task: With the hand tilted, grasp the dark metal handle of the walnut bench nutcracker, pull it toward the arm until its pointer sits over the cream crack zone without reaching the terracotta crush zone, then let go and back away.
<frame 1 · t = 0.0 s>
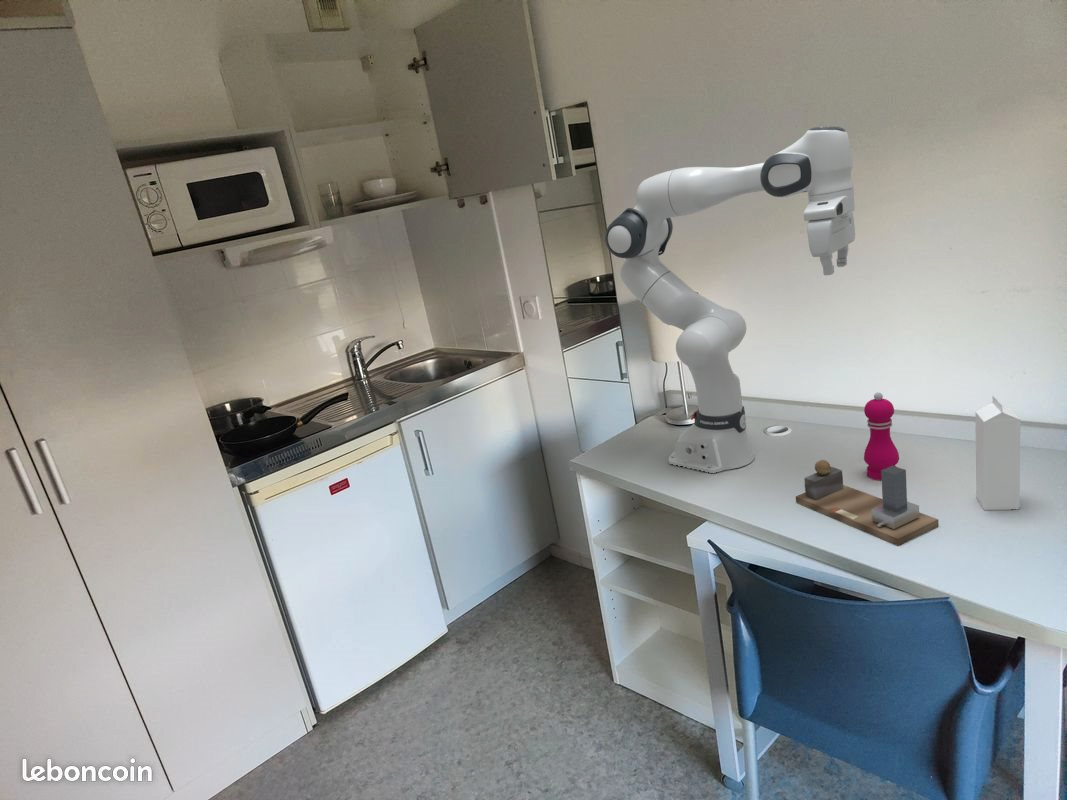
hand: (835, 270, 149), 48 cm above the table, tool pointing down, fingers open, 8 cm apart
pepper mill: (882, 475, 158), on the table
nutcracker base: (862, 513, 143), on the table
milk: (997, 504, 137), on the table
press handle: (892, 495, 134), point 7 cm above the table, slide at 0.0 cm
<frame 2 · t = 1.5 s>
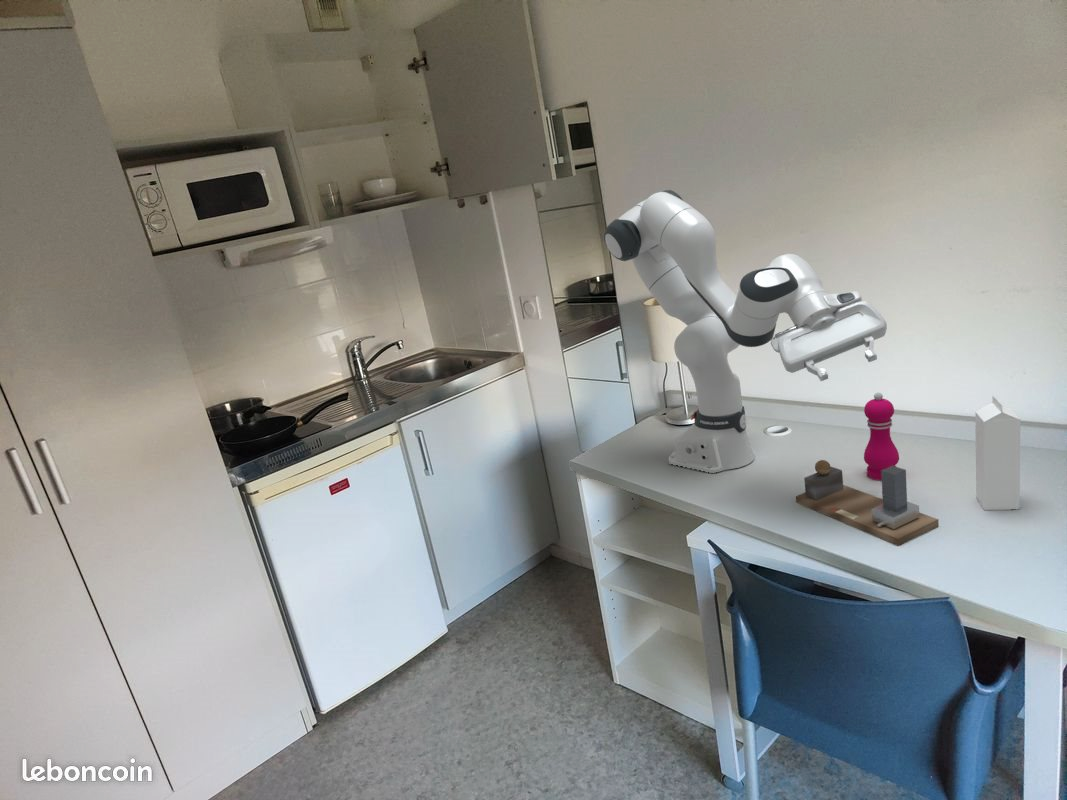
hand: (848, 369, 132), 33 cm above the table, tool tilted 50°, fingers open, 8 cm apart
nothing on the table moved.
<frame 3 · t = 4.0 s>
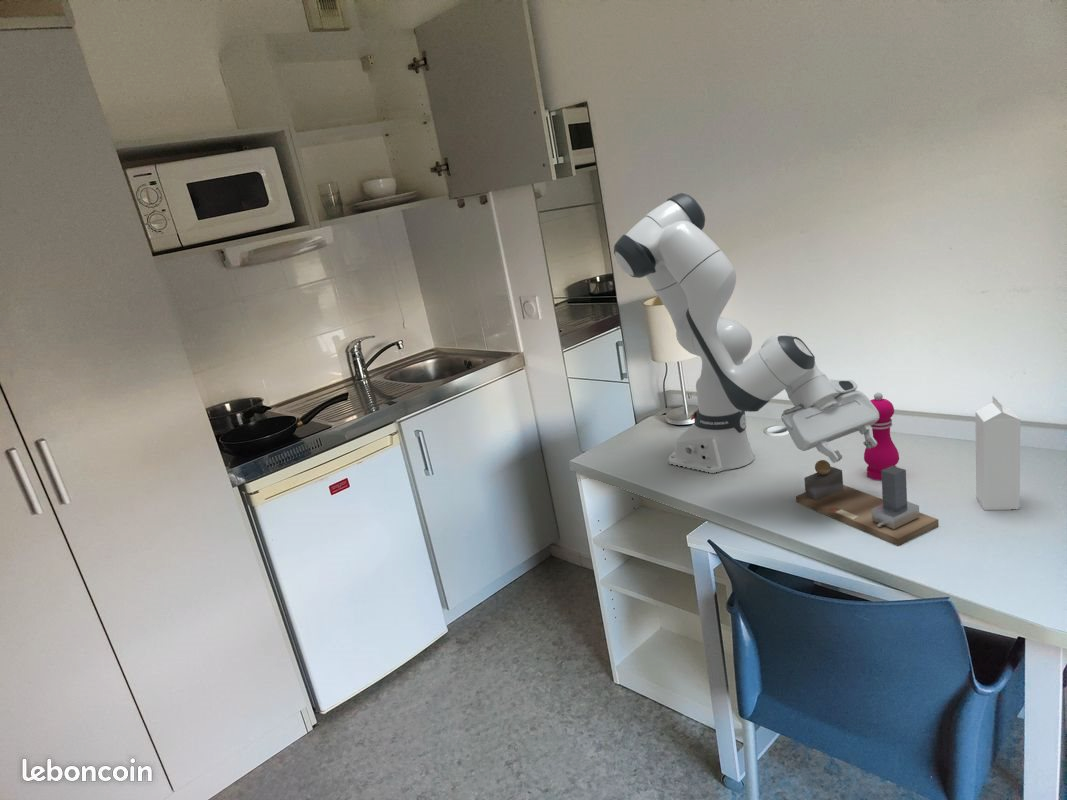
hand: (855, 453, 139), 14 cm above the table, tool tilted 45°, fingers open, 8 cm apart
nothing on the table moved.
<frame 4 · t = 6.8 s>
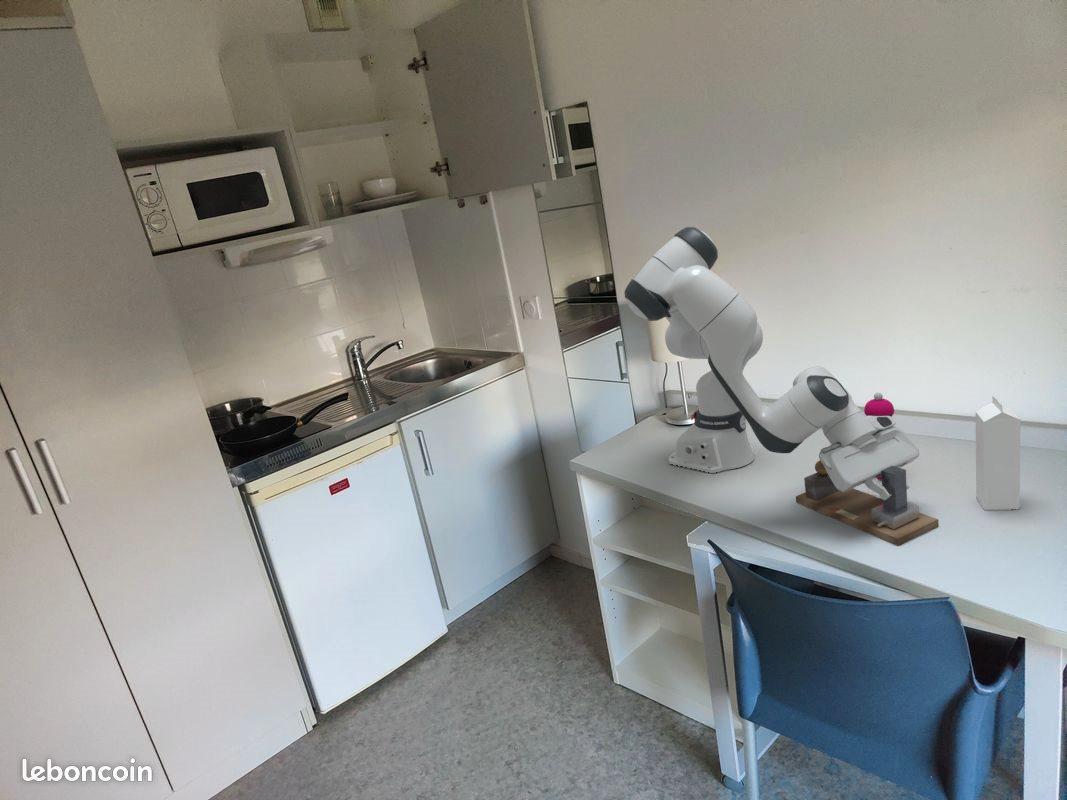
hand: (897, 494, 133), 7 cm above the table, tool tilted 45°, fingers closed on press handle, 3 cm apart
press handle: (892, 495, 134), point 7 cm above the table, slide at 0.0 cm, touching gripper
everything else where it was.
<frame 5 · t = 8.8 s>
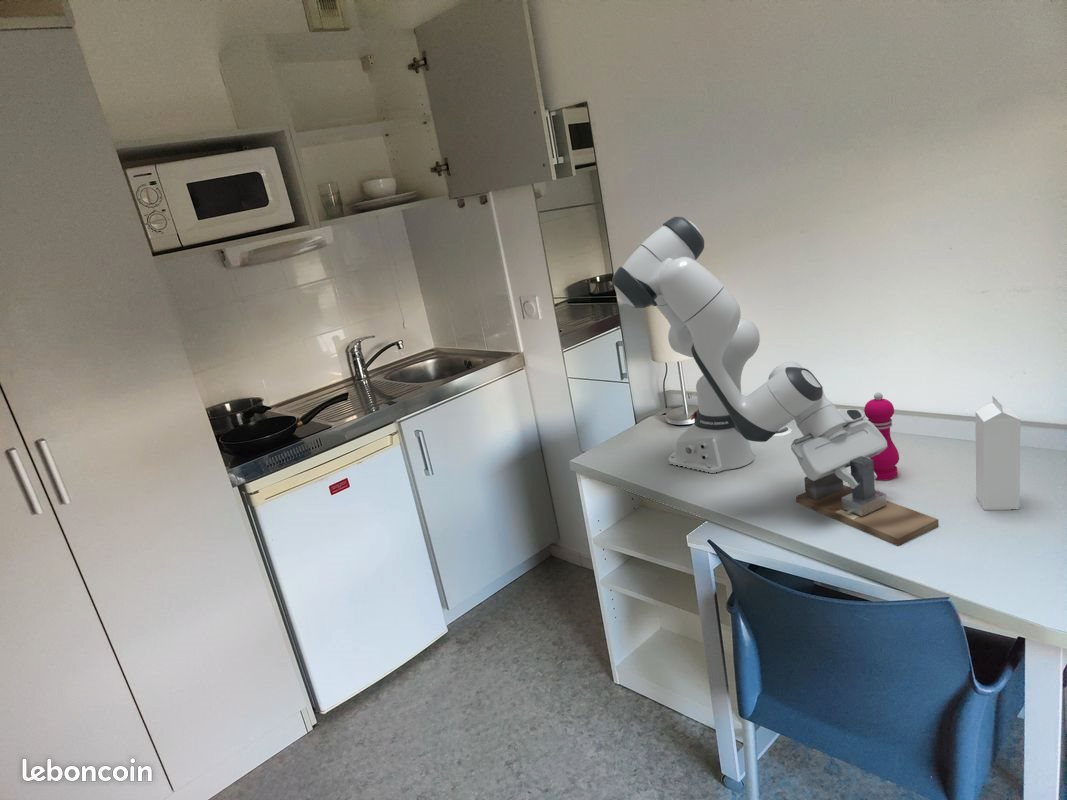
hand: (865, 483, 140), 7 cm above the table, tool tilted 45°, fingers closed on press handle, 3 cm apart
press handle: (860, 484, 141), point 7 cm above the table, slide at 7.4 cm, touching gripper
everything else where it was.
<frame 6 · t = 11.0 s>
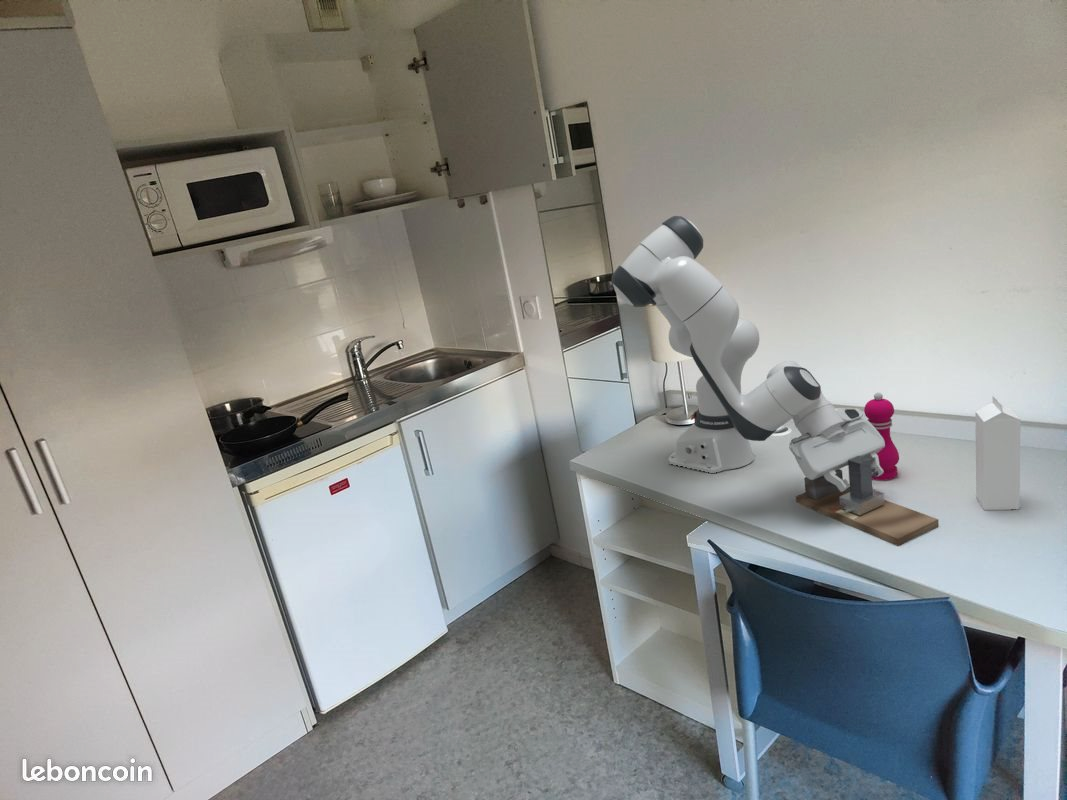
hand: (863, 482, 141), 7 cm above the table, tool tilted 45°, fingers open, 8 cm apart
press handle: (858, 483, 141), point 7 cm above the table, slide at 8.0 cm
everything else where it was.
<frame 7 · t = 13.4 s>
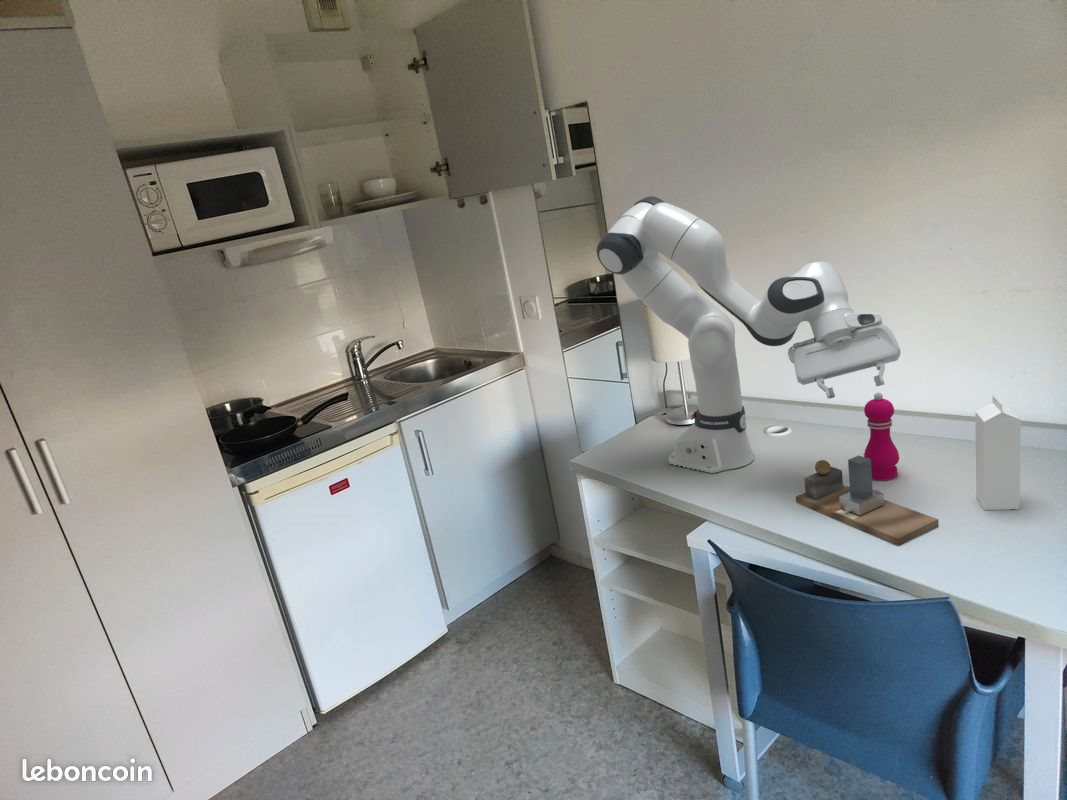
hand: (855, 391, 140), 26 cm above the table, tool tilted 40°, fingers open, 8 cm apart
nothing on the table moved.
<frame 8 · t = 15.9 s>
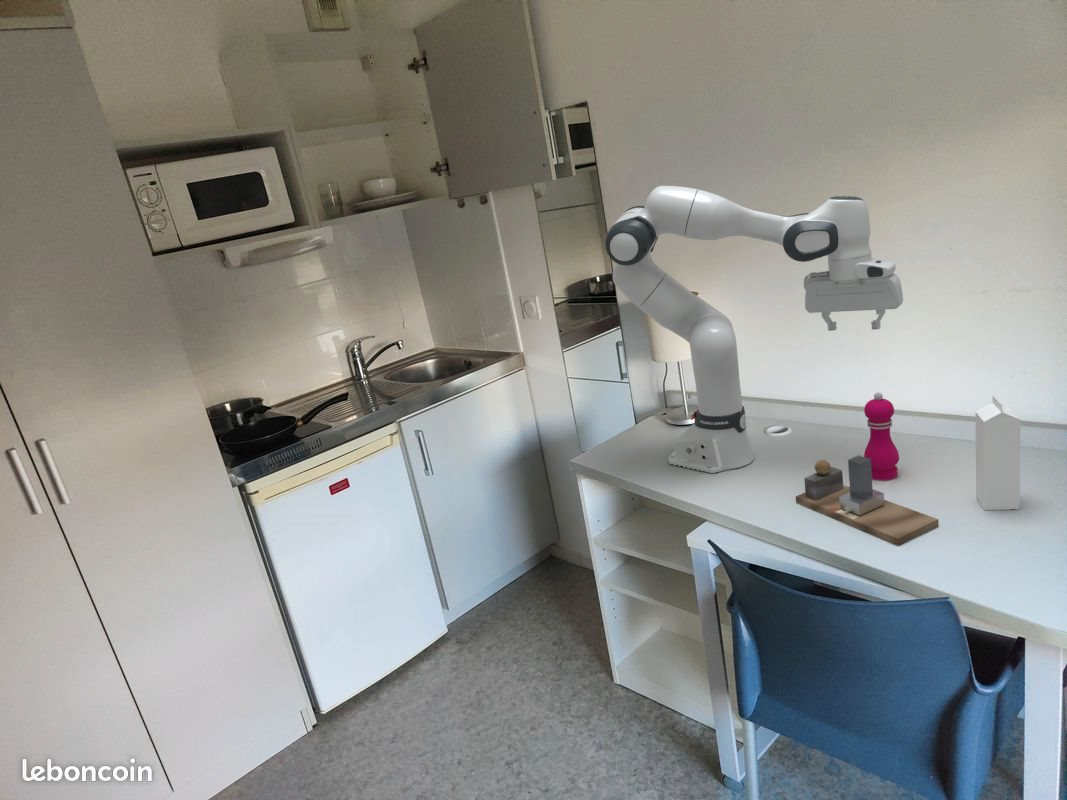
hand: (853, 329, 157), 33 cm above the table, tool pointing down, fingers open, 8 cm apart
nothing on the table moved.
at the end: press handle slide at 8.0 cm; the gripper is holding nothing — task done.
